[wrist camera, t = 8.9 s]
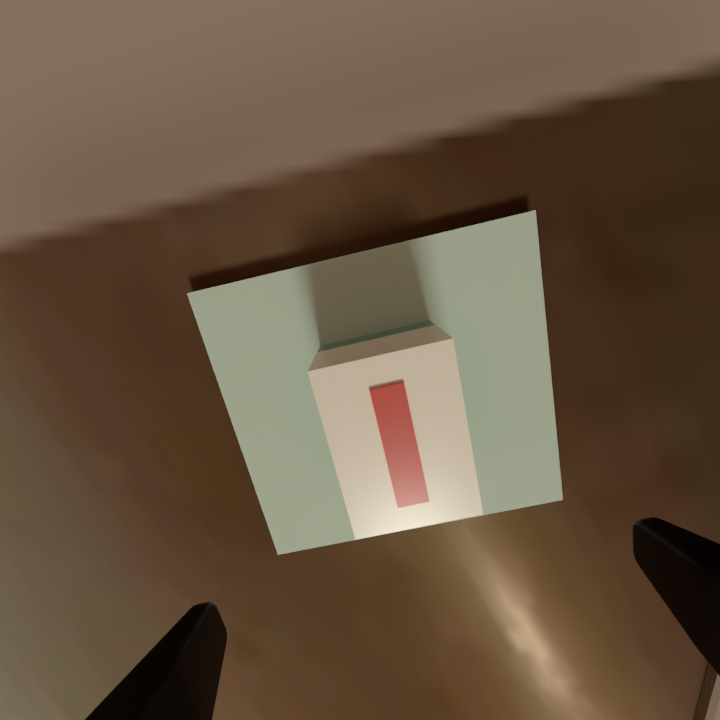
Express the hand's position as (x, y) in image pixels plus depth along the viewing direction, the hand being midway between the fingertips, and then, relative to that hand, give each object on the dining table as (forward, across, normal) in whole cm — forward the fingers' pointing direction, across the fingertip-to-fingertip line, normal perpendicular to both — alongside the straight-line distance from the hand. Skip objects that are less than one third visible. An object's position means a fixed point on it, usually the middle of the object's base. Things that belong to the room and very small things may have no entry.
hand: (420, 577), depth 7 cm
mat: (+10, 0, 0) cm, 10 cm away
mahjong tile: (+9, 0, 0) cm, 9 cm away
